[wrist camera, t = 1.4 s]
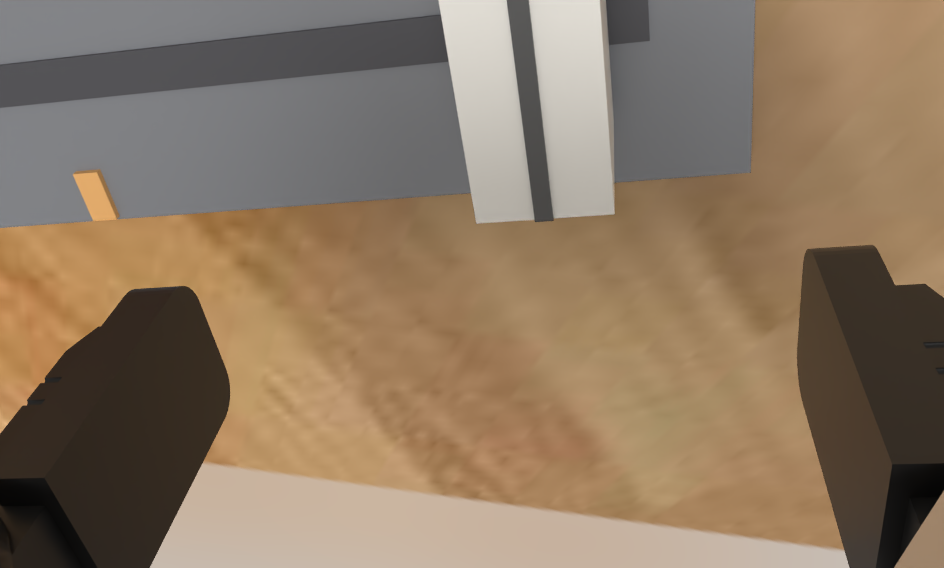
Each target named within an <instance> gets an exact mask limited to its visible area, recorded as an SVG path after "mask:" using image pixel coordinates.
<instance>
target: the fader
mask: <svg viewBox="0 0 944 568" xmlns="http://www.w3.org/2000/svg"><path fill="white" fill-rule="evenodd" d="M438 1H439V7H440V13H441V18H442V24H443V30H444V36H445V42H446V48H447V54H448V60H449V66H450V72H451V77H452V83H453V89H454V95H455V101H456V107H457V113H458V119H459V125H460V131H461V136H462V142H463V148H464V154H465V160H466V166H467V172H468V178H469V184H470V190H471V195H472V201H473V207H474V213H475V219H476V224H478V223H493V222H508V221H523V220H535V222H543V221H553V220H554V218H568V217H583V216H598V215H613V214H615V200H614V116H613V101H612V86H611V71H610V56H609V40H608V25H607V10H606V0H438Z"/></svg>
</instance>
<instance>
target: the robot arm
mask: <svg viewBox="0 0 944 568" xmlns="http://www.w3.org/2000/svg"><path fill="white" fill-rule="evenodd" d="M797 366H798V379H799V387H800V393H801V398H802V401H803V405H804V409H805V412H806V416H807V419H808V423H809V426H810V430H811V433H812V437H813V440H814V444H815V447H816V451H817V455H818V458H819V462H820V465H821V469H822V472H823V476H824V479H825V483H826V486H827V490H828V493H829V497H830V500H831V504H832V507H833V511H834V514H835V518H836V522H837V525H838V529H839V532H840V536H841V539H842V543H843V546H844V550H845V553H846V556H847V560H848V564H849V567H850V568H944V298H943V297H942V296H941V295H939V294H938V293H936V292H935V291H934V290H932V289H931V288H930V287H928V286H927V285H926V284H915V285H897V286H895V284H894V282H893V280H892V278H891V276H890V274H889V272H888V270H887V268H886V266H885V264H884V262H883V260H882V258H881V256H880V254H879V252H878V250H877V248H876V247H875V246H873V245H865V246H848V247H832V248H816V249H808V250H807V251H806V253H805V257H804V262H803V274H802V289H801V303H800V318H799V332H798V347H797ZM27 401H28V404H27V406H22V407H21V408H20V410H19V411H18V412H17V413H16V415H15V416H14V417H13V419H12V420H11V421H10V422H9V424H8V425H7V426H6V427H5V429H4V430H3V431H2V432H1V434H0V568H150V566H151V564H152V562H153V560H154V558H155V556H156V554H157V552H158V550H159V548H160V546H161V544H162V542H163V540H164V538H165V536H166V534H167V532H168V530H169V528H170V526H171V524H172V522H173V520H174V518H175V516H176V514H177V512H178V510H179V508H180V506H181V504H182V502H183V500H184V498H185V496H186V494H187V492H188V490H189V488H190V487H191V484H192V482H193V481H194V479H195V477H196V475H197V473H198V470H199V469H200V467H201V465H202V463H203V461H204V459H205V457H206V455H207V453H208V451H209V449H210V447H211V445H212V443H213V441H214V439H215V437H216V435H217V433H218V431H219V429H220V427H221V425H222V423H223V421H224V419H225V417H226V415H227V411H228V407H229V401H230V384H229V378H228V374H227V371H226V368H225V365H224V363H223V360H222V358H221V355H220V353H219V350H218V348H217V345H216V343H215V340H214V337H213V335H212V332H211V330H210V327H209V325H208V322H207V320H206V317H205V315H204V312H203V309H202V307H201V304H200V302H199V300H198V298H197V296H196V294H195V293H194V292H193V291H192V290H191V289H190V288H189V287H186V286H178V287H162V288H146V289H134V290H131V291H129V292H128V293H127V294H126V295H125V296H124V297H123V299H122V300H121V301H120V303H119V304H118V305H117V307H116V308H115V309H114V310H113V312H112V313H111V314H110V316H109V317H108V318H107V320H106V321H105V322H104V323H103V325H102V326H101V327H97V328H96V329H95V330H93V331H92V332H91V333H89V334H88V335H87V336H85V337H84V338H83V339H81V340H80V341H79V342H77V343H76V344H75V345H73V346H72V347H71V348H69V349H68V350H67V351H66V352H65V353H64V354H63V355H62V357H61V358H60V359H59V361H58V362H57V363H56V364H55V366H54V367H53V368H52V369H51V371H50V372H49V373H48V374H47V376H46V377H45V383H40V384H39V386H38V387H37V388H36V390H35V391H34V392H33V393H32V395H31V396H30V397H29V398H28V400H27Z"/></svg>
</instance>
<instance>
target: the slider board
mask: <svg viewBox="0 0 944 568" xmlns="http://www.w3.org/2000/svg"><path fill="white" fill-rule="evenodd" d="M606 10H607V25H608V40H609V56H610V71H611V86H612V101H613V116H614V183H616V182H630V181H643V180H657V179H671V178H684V177H698V176H711V175H725V174H739V173H751V143H752V105H753V67H754V29H755V0H606ZM467 193H471V190H470V184H469V178H468V172H467V166H466V160H465V154H464V148H463V142H462V136H461V131H460V125H459V119H458V113H457V107H456V101H455V95H454V89H453V83H452V77H451V72H450V66H449V60H448V54H447V48H446V42H445V36H444V30H443V24H442V18H441V13H440V7H439V1H438V0H0V228H5V227H18V226H32V225H45V224H59V223H73V222H86V221H101V220H115V219H127V218H141V217H154V216H168V215H181V214H195V213H209V212H222V211H236V210H249V209H263V208H276V207H290V206H304V205H317V204H331V203H344V202H358V201H372V200H385V199H399V198H412V197H426V196H440V195H453V194H467Z"/></svg>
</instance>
